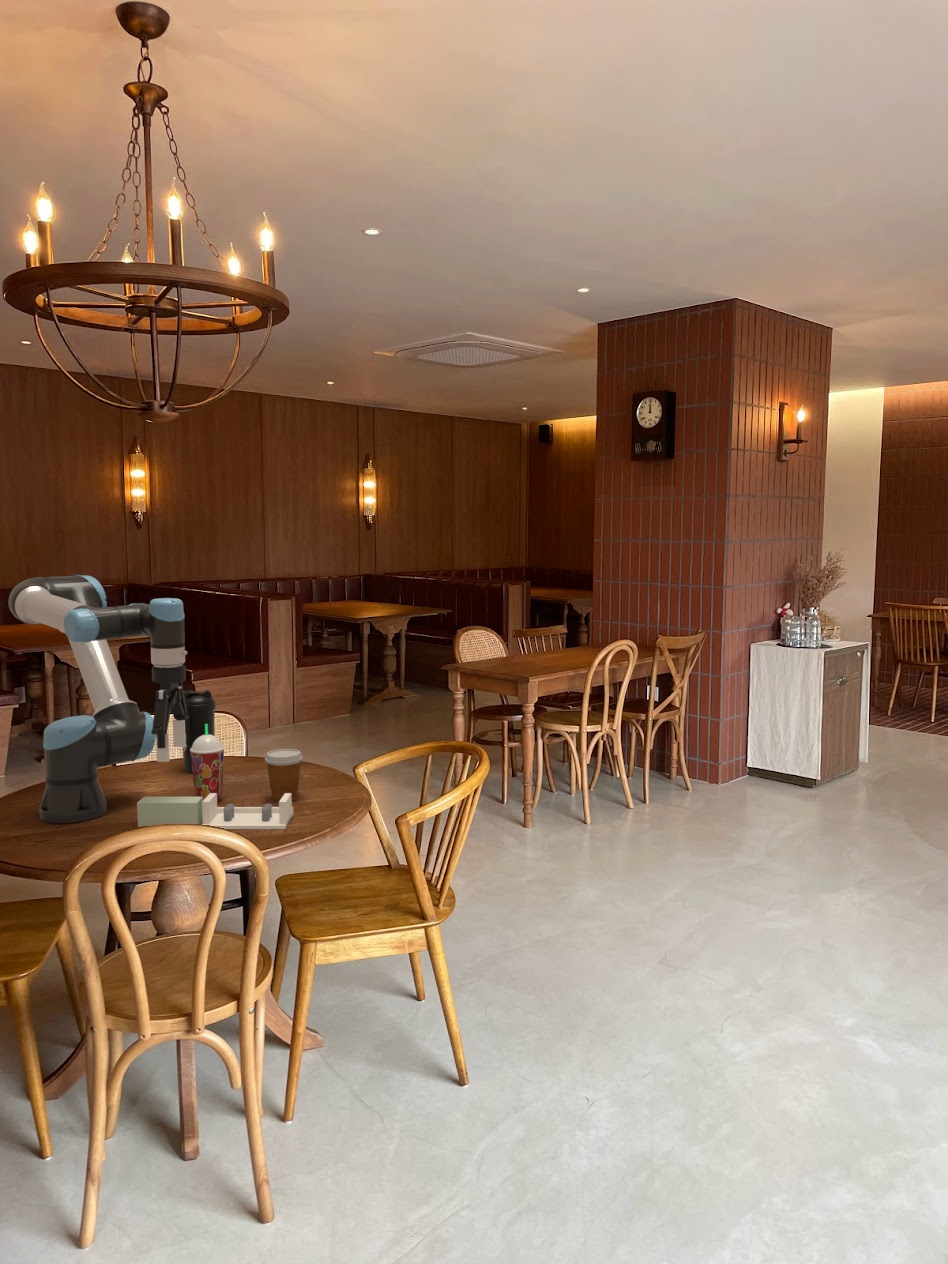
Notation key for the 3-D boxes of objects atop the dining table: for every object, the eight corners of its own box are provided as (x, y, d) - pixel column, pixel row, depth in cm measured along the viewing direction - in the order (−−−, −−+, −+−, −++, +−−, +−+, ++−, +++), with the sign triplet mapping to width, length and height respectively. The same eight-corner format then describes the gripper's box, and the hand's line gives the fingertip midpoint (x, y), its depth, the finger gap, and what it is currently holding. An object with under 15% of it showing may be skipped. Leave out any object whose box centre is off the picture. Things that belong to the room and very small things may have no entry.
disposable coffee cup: (295, 805, 241) (294, 758, 239) (259, 802, 242) (258, 756, 241) (309, 794, 250) (308, 749, 248) (274, 792, 252) (273, 747, 250)
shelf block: (138, 827, 224) (136, 802, 223) (145, 820, 229) (144, 796, 228) (197, 827, 224) (196, 802, 223) (203, 820, 229) (202, 796, 228)
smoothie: (231, 797, 247) (229, 721, 245) (214, 806, 239) (212, 728, 237) (203, 794, 249) (200, 719, 247) (185, 804, 241) (182, 726, 239)
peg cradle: (200, 829, 222) (199, 804, 221) (213, 815, 232) (212, 791, 232) (284, 829, 222) (284, 804, 221) (293, 815, 232) (292, 791, 232)
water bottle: (180, 766, 277) (177, 688, 274) (216, 764, 280) (214, 686, 277) (180, 775, 268) (177, 695, 265) (218, 772, 271) (215, 693, 268)
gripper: (169, 674, 210) (172, 767, 213) (198, 656, 235) (201, 740, 237) (135, 674, 210) (138, 767, 213) (167, 656, 235) (170, 740, 237)
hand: (171, 753), depth 225 cm, fingers open, 13 cm apart
